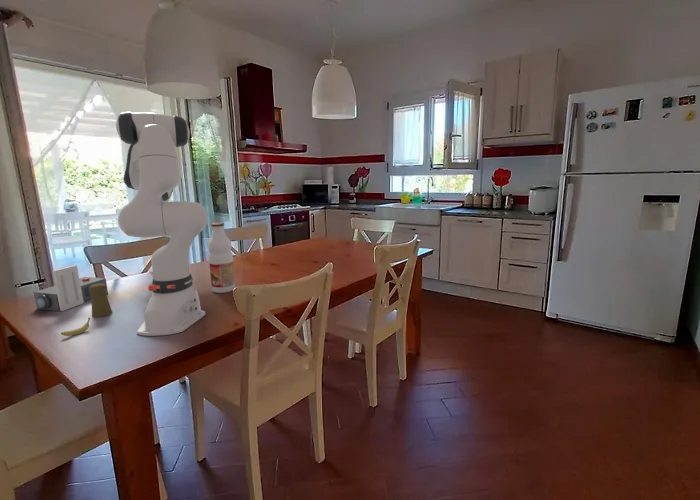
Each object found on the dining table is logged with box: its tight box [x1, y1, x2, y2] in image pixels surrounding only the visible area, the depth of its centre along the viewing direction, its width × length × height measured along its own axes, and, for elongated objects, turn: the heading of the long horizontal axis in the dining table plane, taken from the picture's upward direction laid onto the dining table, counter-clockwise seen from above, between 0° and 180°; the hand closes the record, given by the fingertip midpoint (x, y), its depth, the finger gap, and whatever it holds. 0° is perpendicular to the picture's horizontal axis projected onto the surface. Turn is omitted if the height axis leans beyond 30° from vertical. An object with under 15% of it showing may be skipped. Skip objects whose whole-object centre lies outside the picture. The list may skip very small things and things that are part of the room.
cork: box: [89, 284, 113, 318], centre depth 129 cm, size 6×6×11 cm
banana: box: [60, 317, 91, 337], centre depth 114 cm, size 8×2×4 cm, turn 150°
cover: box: [52, 264, 85, 312], centre depth 136 cm, size 8×2×15 cm, turn 164°
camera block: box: [33, 276, 109, 312], centre depth 143 cm, size 22×11×7 cm, turn 164°
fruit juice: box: [207, 222, 236, 294], centre depth 151 cm, size 9×9×28 cm
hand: (134, 235), depth 154 cm, fingers closed
